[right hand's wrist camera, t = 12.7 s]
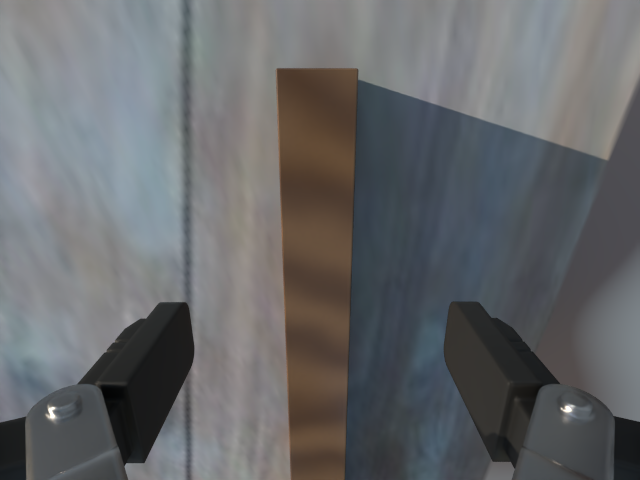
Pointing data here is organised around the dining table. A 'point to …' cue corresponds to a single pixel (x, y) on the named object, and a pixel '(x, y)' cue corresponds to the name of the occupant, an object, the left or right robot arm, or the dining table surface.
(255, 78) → the dining table surface
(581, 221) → the dining table surface
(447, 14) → the dining table surface
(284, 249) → the post
